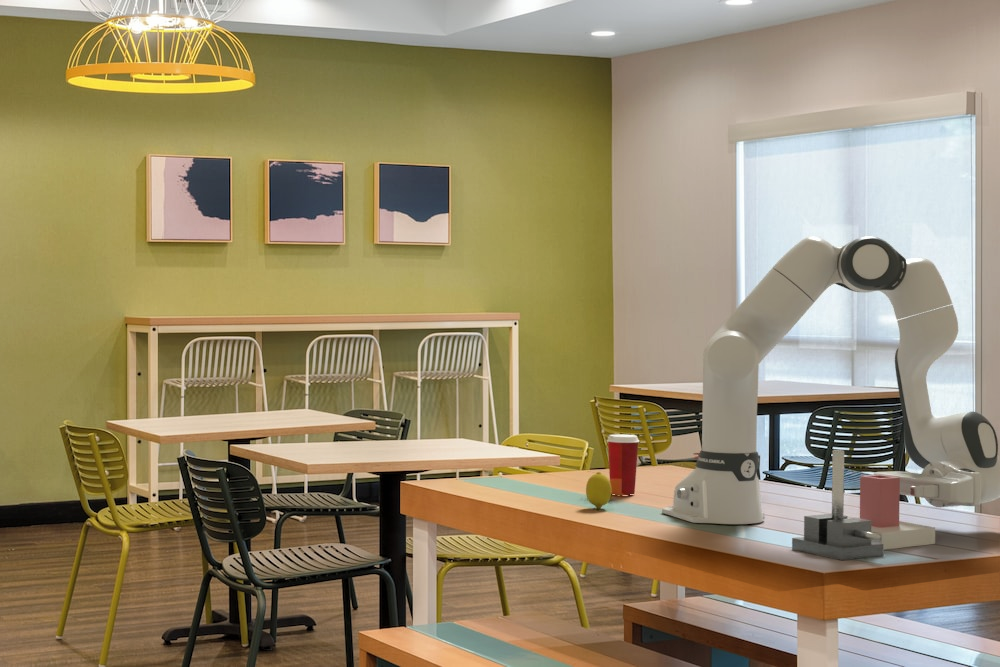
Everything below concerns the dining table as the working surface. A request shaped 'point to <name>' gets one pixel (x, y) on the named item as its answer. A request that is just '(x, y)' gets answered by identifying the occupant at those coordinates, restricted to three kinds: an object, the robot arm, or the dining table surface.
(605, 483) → the lemon
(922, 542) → the block
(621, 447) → the paper cup
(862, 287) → the robot arm
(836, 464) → the vise
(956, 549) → the dining table surface
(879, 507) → the sleeve
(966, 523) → the dining table surface
